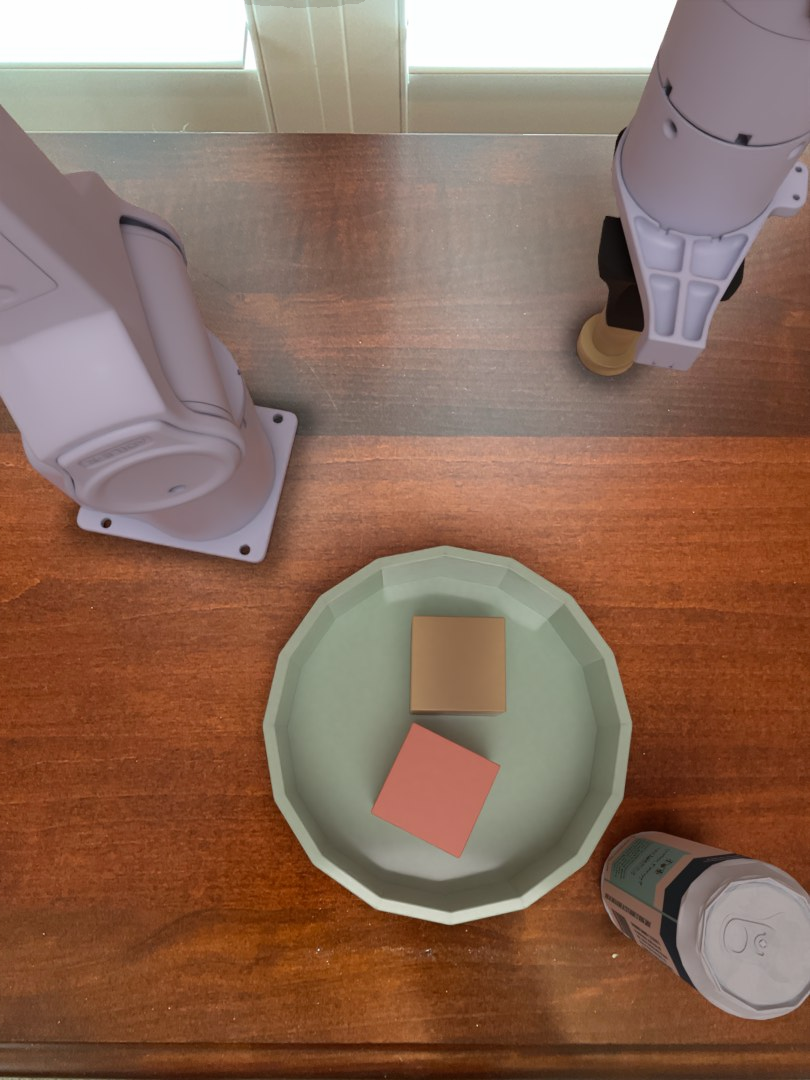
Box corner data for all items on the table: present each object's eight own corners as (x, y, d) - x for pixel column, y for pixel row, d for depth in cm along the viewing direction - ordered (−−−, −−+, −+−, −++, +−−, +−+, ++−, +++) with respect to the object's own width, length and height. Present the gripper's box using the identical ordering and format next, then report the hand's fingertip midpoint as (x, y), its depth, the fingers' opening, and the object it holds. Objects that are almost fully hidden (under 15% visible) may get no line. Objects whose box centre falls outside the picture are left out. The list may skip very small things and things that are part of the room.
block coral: (373, 807, 38) (370, 812, 34) (411, 725, 39) (413, 721, 35) (453, 848, 37) (459, 859, 33) (490, 764, 38) (501, 765, 34)
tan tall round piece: (572, 370, 44) (609, 287, 36) (580, 316, 45) (619, 223, 37) (632, 380, 44) (683, 300, 36) (640, 326, 45) (691, 236, 37)
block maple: (409, 714, 39) (410, 710, 35) (410, 628, 40) (412, 615, 36) (495, 716, 39) (506, 712, 35) (495, 630, 40) (505, 617, 36)
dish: (248, 862, 38) (226, 878, 33) (320, 546, 41) (310, 518, 37) (577, 931, 37) (603, 957, 32) (620, 604, 41) (650, 584, 36)
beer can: (697, 955, 37) (835, 1045, 25) (591, 931, 37) (678, 1010, 26) (709, 842, 38) (846, 879, 26) (606, 820, 38) (695, 847, 27)
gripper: (861, 295, 24) (699, 456, 38) (886, -86, 28) (730, 183, 41) (621, 253, 25) (544, 428, 38) (676, -118, 28) (588, 159, 41)
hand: (631, 299), depth 40 cm, fingers closed on tan tall round piece, 2 cm apart
